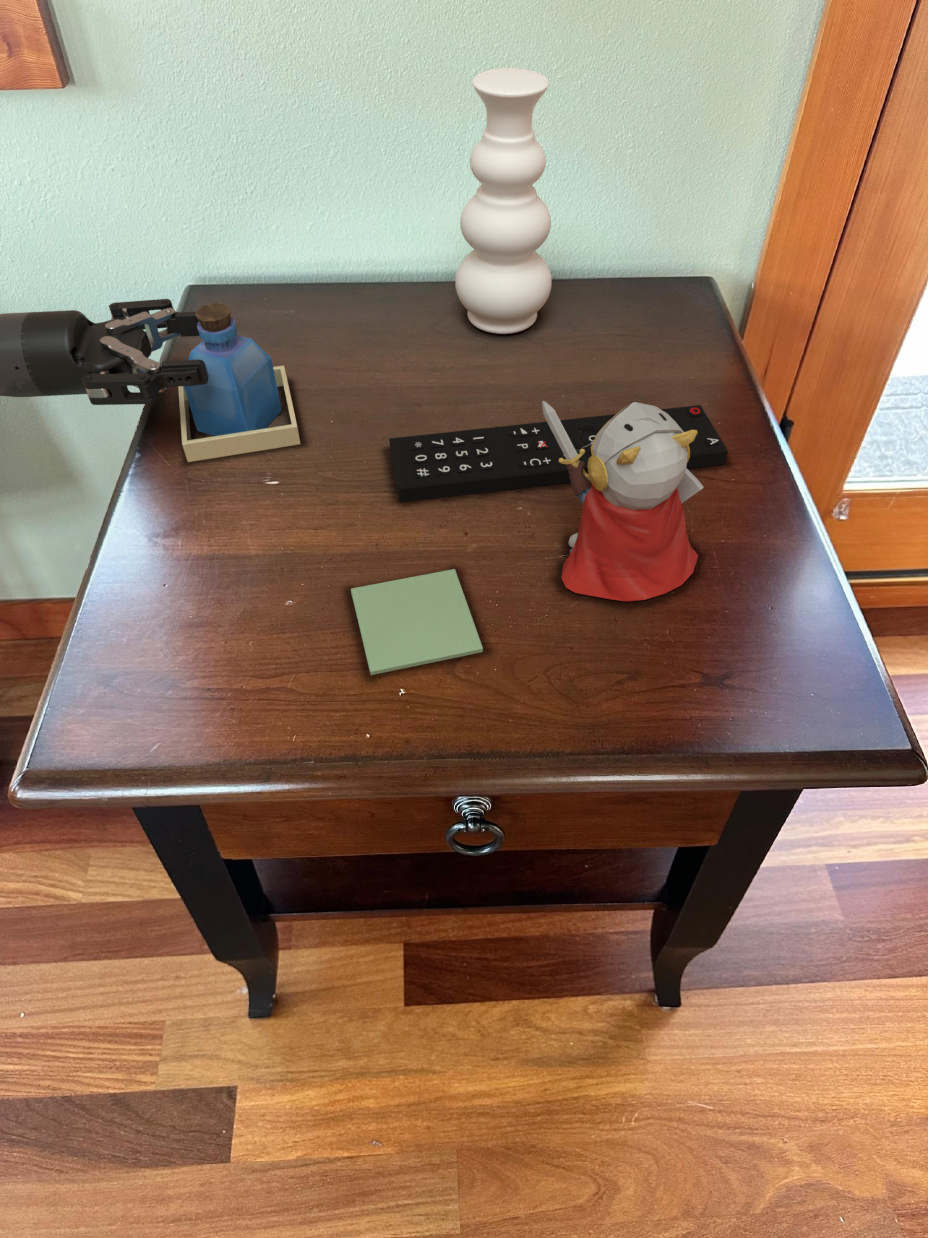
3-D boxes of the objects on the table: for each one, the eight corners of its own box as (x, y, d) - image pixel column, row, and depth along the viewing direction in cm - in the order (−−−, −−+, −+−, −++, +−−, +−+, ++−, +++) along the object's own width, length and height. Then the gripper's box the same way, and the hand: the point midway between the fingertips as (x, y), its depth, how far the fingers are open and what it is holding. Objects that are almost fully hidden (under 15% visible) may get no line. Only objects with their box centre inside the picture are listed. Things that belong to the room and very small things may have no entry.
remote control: (727, 464, 81) (732, 447, 79) (399, 502, 77) (398, 485, 76) (699, 417, 86) (703, 400, 84) (390, 451, 82) (388, 434, 81)
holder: (187, 462, 81) (181, 444, 79) (183, 398, 88) (177, 380, 86) (300, 444, 83) (297, 426, 81) (287, 382, 90) (284, 364, 88)
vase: (437, 314, 99) (430, 72, 80) (509, 287, 103) (519, 51, 84) (493, 355, 93) (501, 105, 74) (567, 324, 97) (592, 80, 78)
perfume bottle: (197, 430, 84) (164, 321, 75) (230, 397, 88) (203, 289, 79) (250, 445, 83) (223, 335, 74) (281, 410, 87) (260, 302, 78)
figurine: (671, 502, 77) (706, 358, 66) (714, 592, 70) (762, 448, 58) (532, 518, 76) (544, 373, 64) (562, 611, 68) (581, 467, 57)
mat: (370, 675, 64) (370, 671, 64) (351, 592, 70) (350, 588, 70) (483, 652, 66) (483, 648, 65) (455, 572, 71) (454, 568, 71)
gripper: (-1, 361, 71) (192, 352, 72) (40, 278, 80) (211, 271, 81) (33, 434, 76) (213, 424, 77) (68, 349, 86) (228, 341, 87)
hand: (212, 346), depth 79 cm, fingers open, 8 cm apart
